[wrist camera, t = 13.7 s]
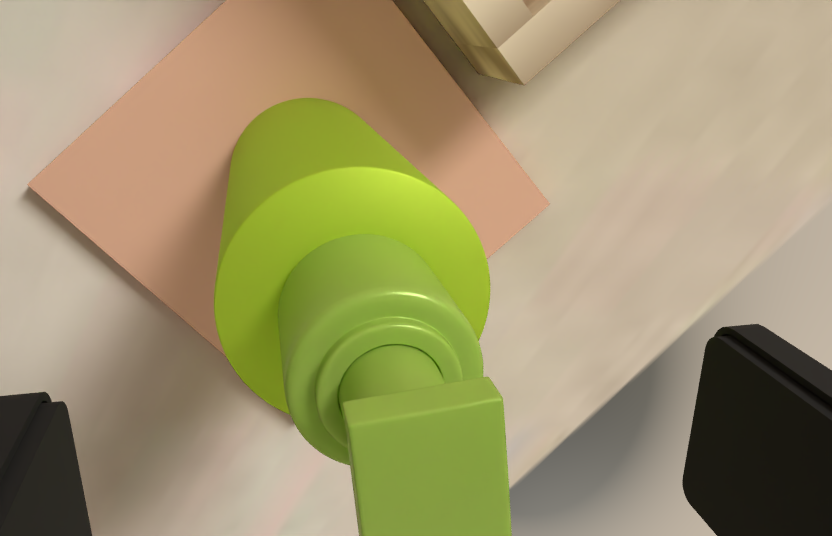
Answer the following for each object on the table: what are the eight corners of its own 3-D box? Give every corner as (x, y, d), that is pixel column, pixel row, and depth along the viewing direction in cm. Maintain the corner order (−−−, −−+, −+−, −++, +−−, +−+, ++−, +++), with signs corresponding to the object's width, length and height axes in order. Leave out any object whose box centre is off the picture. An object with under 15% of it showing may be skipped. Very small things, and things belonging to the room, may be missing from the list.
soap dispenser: (247, 284, 28) (243, 805, 9) (217, 105, 25) (134, 337, 7) (393, 263, 29) (647, 695, 11) (378, 90, 27) (671, 255, 8)
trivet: (31, 181, 26) (27, 184, 25) (321, -87, 25) (322, -90, 24) (300, 414, 31) (300, 421, 30) (544, 200, 30) (549, 203, 30)
